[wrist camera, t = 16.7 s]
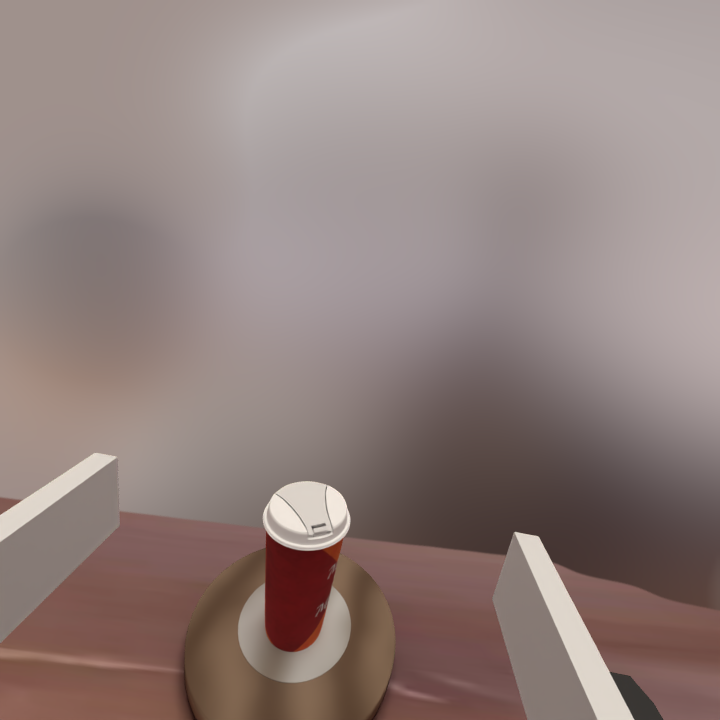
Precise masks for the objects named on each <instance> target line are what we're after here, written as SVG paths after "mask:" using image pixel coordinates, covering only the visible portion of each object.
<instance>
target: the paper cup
mask: <svg viewBox="0 0 720 720" xmlns="http://www.w3.org/2000/svg"><path fill="white" fill-rule="evenodd" d="M263 524H264V527H265V530H266V563H265V630H266V634H267V637H268V639H269V640H270V642H271V643H272V644H273V645H274V646H275V647H277V648H278V649H280V650H283V651H287V652H297V651H301V650H304V649H306V648H308V647H309V646H310V645H312V644H313V643H314V642H315V640H316V639H317V638H318V636H319V634H320V631H321V628H322V625H323V621H324V617H325V613H326V609H327V605H328V601H329V597H330V593H331V588H332V584H333V580H334V576H335V571H336V567H337V563H338V559H339V554H340V550H341V546H342V541H343V537H344V536H345V535H346V533H347V532H348V529H349V525H350V515H349V512H348V510H347V505H346V502H345V500H344V498H343V497H342V495H341V494H340V493H339V492H338V491H337V490H335V489H334V488H332V487H330V486H327V485H325V484H321V483H317V482H309V481H304V482H296V483H292V484H289V485H286V486H284V487H283V488H281V489H280V490H279V491H277V492H276V493H275V494H274V495H273V496H272V498H271V500H270V502H269V503H268V505H267V506H266V508H265V510H264V513H263Z"/></svg>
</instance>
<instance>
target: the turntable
mask: <svg viewBox="0 0 720 720" xmlns="http://www.w3.org/2000/svg"><path fill="white" fill-rule="evenodd" d="M265 563H266V548H264V549H261V550H259V551H256V552H253V553H251V554H249V555H247V556H245V557H243V558H241V559H240V560H238V561H236V562H235V563H233V564H232V565H231V566H229V567H228V568H227V569H225V570H224V571H223V572H222V573H221V574H220V575H219V576H218V577H217V578H216V579H215V580H214V581H213V582H212V583H211V584H210V586H209V587H208V588H207V589H206V591H205V592H204V594H203V595H202V597H201V598H200V600H199V602H198V604H197V606H196V608H195V610H194V612H193V614H192V617H191V620H190V623H189V626H188V631H187V636H186V641H185V662H184V675H185V687H186V691H187V696H188V700H189V703H190V706H191V708H192V711H193V713H194V716H195V718H196V719H197V720H372V719H373V717H374V716H375V714H376V713H377V711H378V709H379V706H380V704H381V702H382V700H383V698H384V695H385V692H386V689H387V686H388V683H389V679H390V675H391V671H392V666H393V661H394V656H395V628H394V623H393V618H392V614H391V611H390V608H389V605H388V603H387V601H386V599H385V597H384V594H383V593H382V591H381V590H380V588H379V586H378V585H377V584H376V582H375V581H374V580H373V579H372V577H371V576H370V575H369V574H368V573H367V572H366V571H365V570H364V569H363V568H362V567H360V566H359V565H358V564H357V563H355V562H354V561H352V560H351V559H349V558H348V557H346V556H344V555H342V554H339V559H338V563H337V567H336V571H335V576H334V580H333V584H332V588H331V593H330V597H329V601H328V605H327V609H326V613H325V617H324V621H323V625H322V628H321V631H320V634H319V636H318V638H317V639H316V640H315V642H314V643H313V644H312V645H310V646H309V647H308V648H306V649H304V650H301V651H297V652H287V651H283V650H280V649H278V648H277V647H275V646H274V645H273V644H272V643H271V642H270V640H269V639H268V637H267V634H266V630H265Z"/></svg>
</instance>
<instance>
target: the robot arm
mask: <svg viewBox="0 0 720 720" xmlns="http://www.w3.org/2000/svg"><path fill="white" fill-rule="evenodd" d="M119 526H120V520H119V489H118V459H117V457H115V456H110V455H104V454H99V453H94V454H93V455H91V456H90V457H88V458H87V459H85V460H84V461H82V462H81V463H79V464H77V465H76V466H74V467H73V468H71V469H70V470H68V471H67V472H65V473H64V474H62V475H61V476H59V477H58V478H56V479H55V480H53V481H52V482H50V483H49V484H47V485H46V486H44V487H43V488H41V489H39V490H38V491H36V492H35V493H33V494H32V495H30V496H29V497H28V498H26V499H24V500H23V501H21V502H20V503H18V504H17V505H15V506H14V507H12V508H11V509H9V510H8V511H6V512H4V513H3V514H1V515H0V643H1V642H2V641H3V640H4V639H5V638H6V637H7V636H8V635H9V634H10V633H11V632H12V631H13V630H14V629H15V628H16V627H17V626H18V625H19V624H20V623H21V622H22V621H23V620H24V619H25V618H26V617H27V616H28V615H29V614H30V613H31V612H32V611H33V610H34V609H35V608H36V607H37V606H38V605H39V604H40V603H41V602H42V601H43V600H45V599H46V598H47V597H48V596H49V595H50V594H51V593H52V592H53V591H54V590H55V589H56V588H57V587H58V586H59V585H60V584H61V583H62V582H63V581H64V580H65V579H66V578H67V577H68V576H69V575H70V574H71V573H72V572H73V571H74V570H75V569H76V568H77V567H78V566H79V565H80V564H81V563H82V562H83V561H84V560H85V559H86V558H87V557H88V556H89V555H90V554H91V553H92V552H93V551H94V550H95V549H96V548H97V547H98V546H99V545H100V544H101V543H102V542H103V541H104V540H106V539H107V538H108V537H109V536H110V535H111V534H112V533H113V532H114V531H115V530H116V529H117V528H118V527H119ZM492 600H493V603H494V606H495V610H496V613H497V617H498V620H499V624H500V627H501V630H502V634H503V637H504V641H505V644H506V648H507V651H508V654H509V658H510V661H511V665H512V668H513V672H514V675H515V678H516V682H517V685H518V689H519V692H520V695H521V699H522V702H523V706H524V709H525V713H526V716H527V719H528V720H663V718H662V717H661V715H660V713H659V711H658V710H657V708H656V706H655V705H654V703H653V702H652V701H651V700H650V699H649V697H648V696H647V695H646V694H645V693H644V692H643V691H642V689H641V688H640V687H639V686H638V685H637V684H636V683H635V681H634V680H633V679H632V678H631V677H630V676H627V675H622V674H617V673H612V672H609V670H608V669H607V667H606V665H605V663H604V661H603V659H602V657H601V655H600V653H599V651H598V649H597V647H596V646H595V644H594V642H593V640H592V638H591V636H590V634H589V632H588V630H587V628H586V626H585V625H584V623H583V621H582V619H581V617H580V615H579V613H578V611H577V609H576V607H575V605H574V603H573V602H572V600H571V598H570V596H569V594H568V592H567V590H566V588H565V586H564V584H563V582H562V581H561V579H560V577H559V575H558V573H557V571H556V569H555V567H554V565H553V563H552V561H551V560H550V558H549V556H548V554H547V552H546V550H545V548H544V546H543V544H542V543H541V540H540V538H539V537H538V536H533V535H527V534H522V533H517V532H514V534H513V538H512V540H511V543H510V547H509V550H508V553H507V556H506V559H505V562H504V565H503V568H502V571H501V574H500V577H499V580H498V583H497V586H496V589H495V592H494V595H493V598H492Z"/></svg>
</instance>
